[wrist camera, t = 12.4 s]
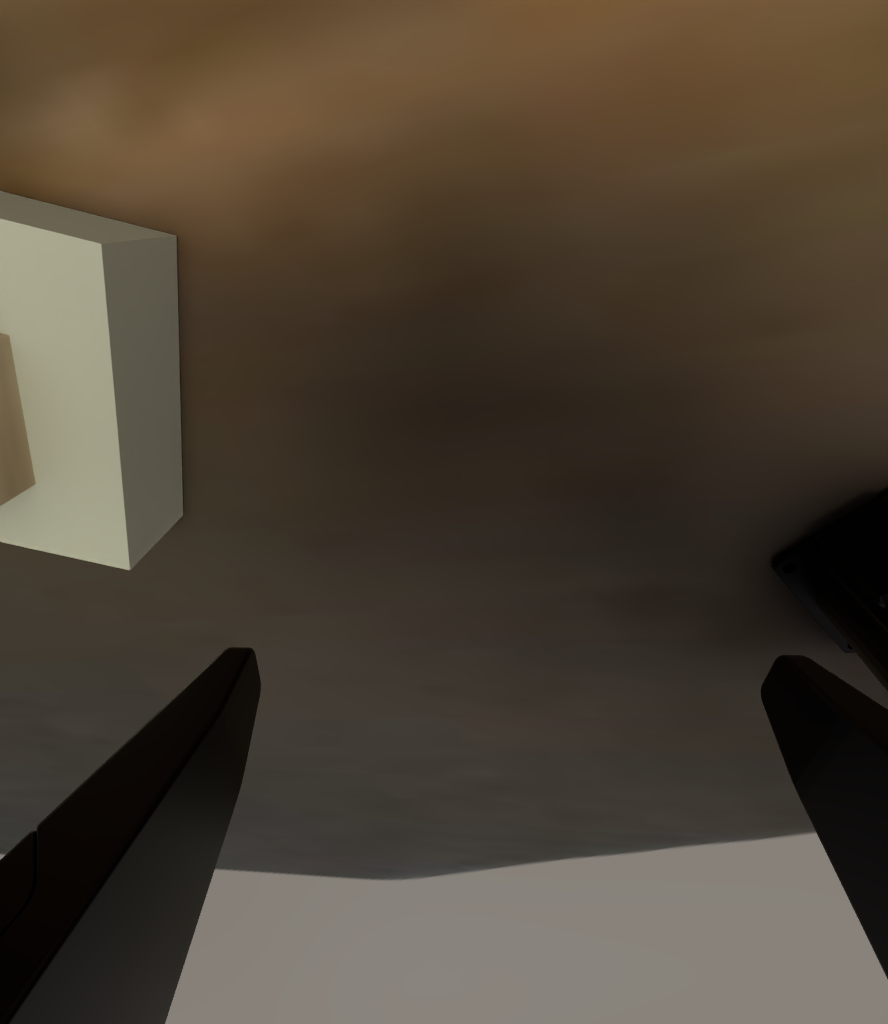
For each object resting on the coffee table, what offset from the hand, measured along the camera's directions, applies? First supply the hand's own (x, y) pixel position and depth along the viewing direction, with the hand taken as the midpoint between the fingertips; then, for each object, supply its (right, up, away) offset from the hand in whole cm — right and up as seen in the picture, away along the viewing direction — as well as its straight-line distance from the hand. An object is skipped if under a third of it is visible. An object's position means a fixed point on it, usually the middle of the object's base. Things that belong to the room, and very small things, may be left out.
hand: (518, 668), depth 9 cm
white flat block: (-17, +8, +11) cm, 22 cm away
